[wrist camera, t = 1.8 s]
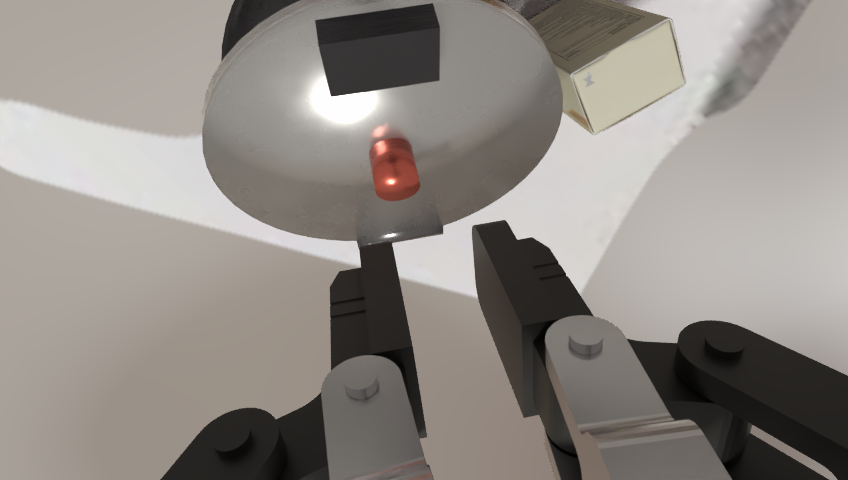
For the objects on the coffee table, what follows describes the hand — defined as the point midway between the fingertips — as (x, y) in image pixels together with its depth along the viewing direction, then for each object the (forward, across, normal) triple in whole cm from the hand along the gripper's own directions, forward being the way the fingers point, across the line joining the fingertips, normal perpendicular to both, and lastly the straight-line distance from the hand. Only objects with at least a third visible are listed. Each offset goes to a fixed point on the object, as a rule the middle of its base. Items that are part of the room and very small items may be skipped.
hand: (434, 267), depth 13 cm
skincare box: (+31, -14, +3) cm, 34 cm away
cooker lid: (+15, 0, +2) cm, 15 cm away
